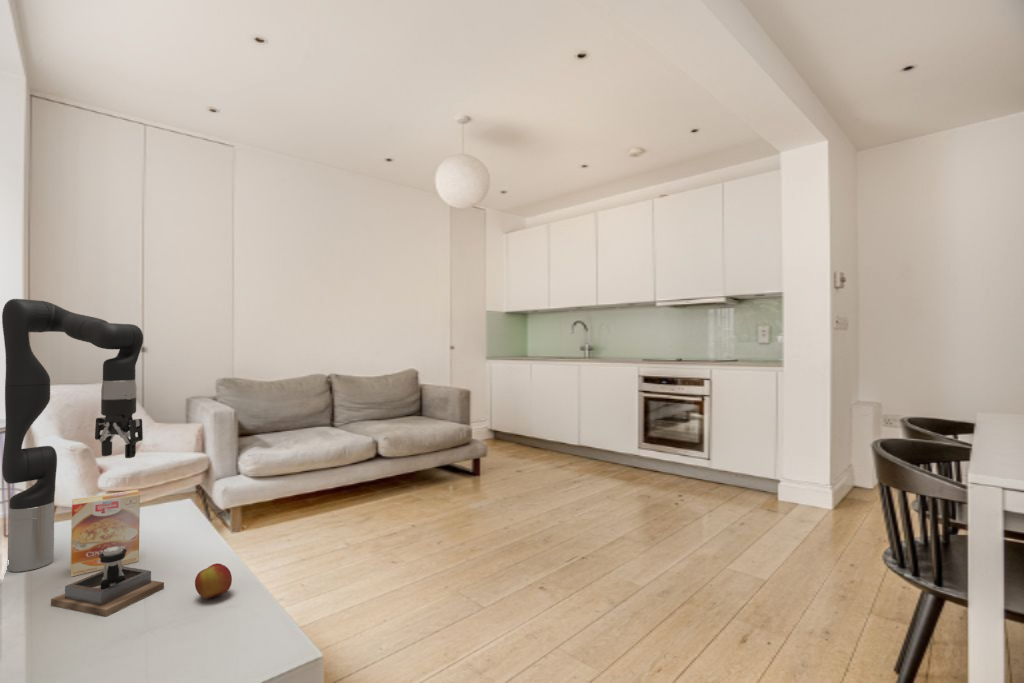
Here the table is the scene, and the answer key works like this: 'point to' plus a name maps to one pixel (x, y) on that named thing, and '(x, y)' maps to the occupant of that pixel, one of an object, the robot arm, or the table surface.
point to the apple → (213, 581)
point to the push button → (112, 566)
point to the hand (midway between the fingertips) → (118, 456)
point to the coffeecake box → (104, 529)
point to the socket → (91, 595)
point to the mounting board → (109, 606)
